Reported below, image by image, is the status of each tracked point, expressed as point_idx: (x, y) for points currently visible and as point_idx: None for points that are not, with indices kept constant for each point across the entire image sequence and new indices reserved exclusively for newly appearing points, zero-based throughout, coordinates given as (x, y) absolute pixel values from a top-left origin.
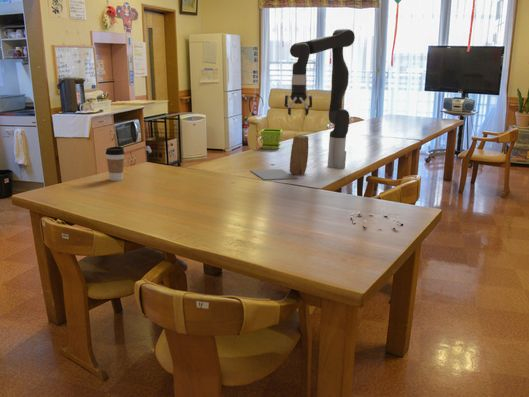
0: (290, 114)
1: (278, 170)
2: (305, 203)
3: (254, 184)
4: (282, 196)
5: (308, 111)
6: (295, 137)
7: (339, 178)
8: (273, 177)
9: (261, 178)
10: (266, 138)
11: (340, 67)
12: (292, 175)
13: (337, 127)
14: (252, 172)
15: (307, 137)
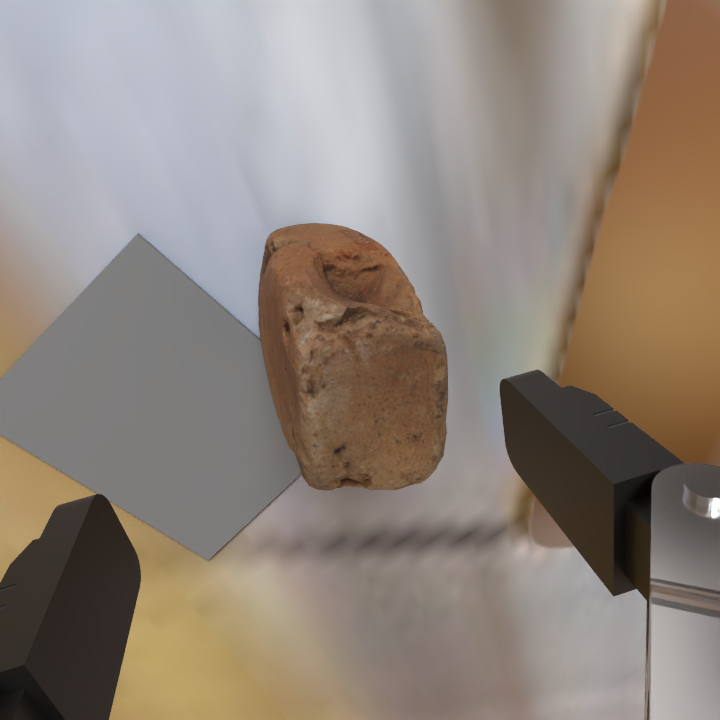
0: (137, 583)
1: (145, 294)
2: (498, 714)
3: (213, 643)
4: (403, 702)
5: (631, 427)
6: (333, 488)
7: (571, 260)
8: (229, 496)
9: (172, 535)
10: None
11: None
12: None
13: None
14: (21, 444)
15: (447, 388)
